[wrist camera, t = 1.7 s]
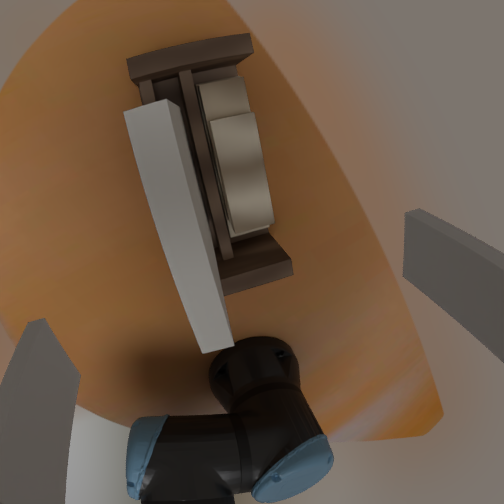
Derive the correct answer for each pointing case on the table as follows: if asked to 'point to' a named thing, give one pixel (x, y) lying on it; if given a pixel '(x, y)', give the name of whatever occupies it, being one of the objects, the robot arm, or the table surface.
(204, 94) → the offcuts
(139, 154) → the sheet
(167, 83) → the rack
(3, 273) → the table surface
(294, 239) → the table surface
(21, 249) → the table surface
